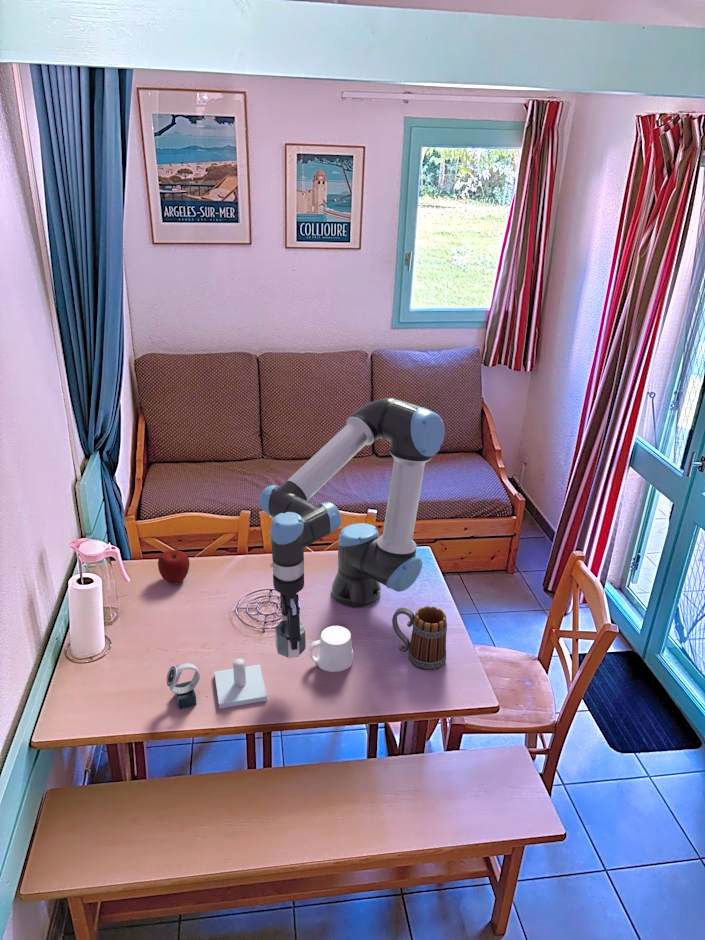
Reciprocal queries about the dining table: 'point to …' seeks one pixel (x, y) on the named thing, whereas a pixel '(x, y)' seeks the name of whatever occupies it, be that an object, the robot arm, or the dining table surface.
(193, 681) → the watch
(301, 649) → the collar
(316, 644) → the mug
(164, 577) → the apple
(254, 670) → the post block
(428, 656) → the mug
